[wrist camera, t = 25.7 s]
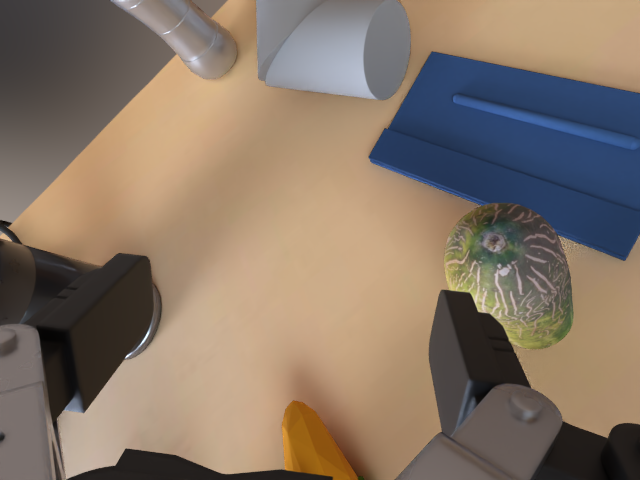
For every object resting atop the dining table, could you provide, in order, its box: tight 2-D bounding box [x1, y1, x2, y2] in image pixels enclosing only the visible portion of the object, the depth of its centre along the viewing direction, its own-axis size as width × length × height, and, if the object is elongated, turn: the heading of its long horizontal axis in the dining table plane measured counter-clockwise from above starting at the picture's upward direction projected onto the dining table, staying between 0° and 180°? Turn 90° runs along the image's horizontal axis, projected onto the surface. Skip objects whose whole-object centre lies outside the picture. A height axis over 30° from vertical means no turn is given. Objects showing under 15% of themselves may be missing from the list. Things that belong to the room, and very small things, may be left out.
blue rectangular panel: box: [369, 52, 640, 261], centre depth 38 cm, size 22×12×1 cm, turn 55°
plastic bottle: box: [110, 0, 237, 79], centre depth 51 cm, size 6×7×20 cm
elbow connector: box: [256, 0, 411, 100], centre depth 47 cm, size 18×10×20 cm
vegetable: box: [444, 203, 573, 349], centre depth 26 cm, size 6×6×20 cm
